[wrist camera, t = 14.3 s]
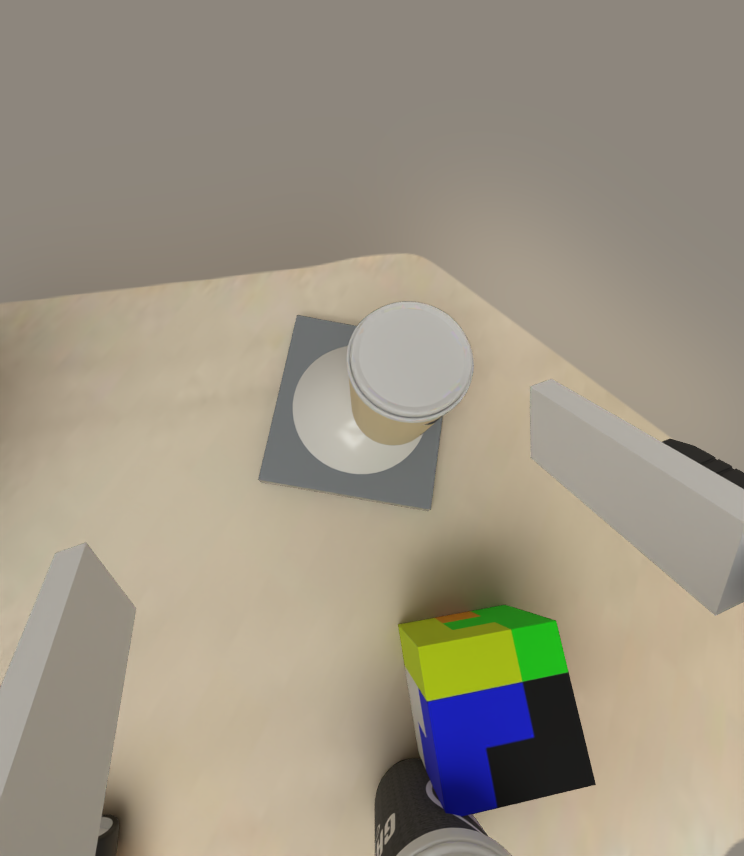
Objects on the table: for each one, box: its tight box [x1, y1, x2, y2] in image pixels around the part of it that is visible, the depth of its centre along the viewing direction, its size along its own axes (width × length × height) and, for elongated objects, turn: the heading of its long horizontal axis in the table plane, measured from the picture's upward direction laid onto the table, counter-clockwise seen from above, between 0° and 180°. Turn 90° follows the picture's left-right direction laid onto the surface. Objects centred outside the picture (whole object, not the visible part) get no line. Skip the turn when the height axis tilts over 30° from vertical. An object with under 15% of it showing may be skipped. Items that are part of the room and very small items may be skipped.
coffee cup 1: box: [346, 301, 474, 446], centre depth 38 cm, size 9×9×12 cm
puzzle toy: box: [398, 605, 596, 817], centre depth 35 cm, size 10×10×10 cm
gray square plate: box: [258, 315, 443, 511], centre depth 44 cm, size 16×17×2 cm
